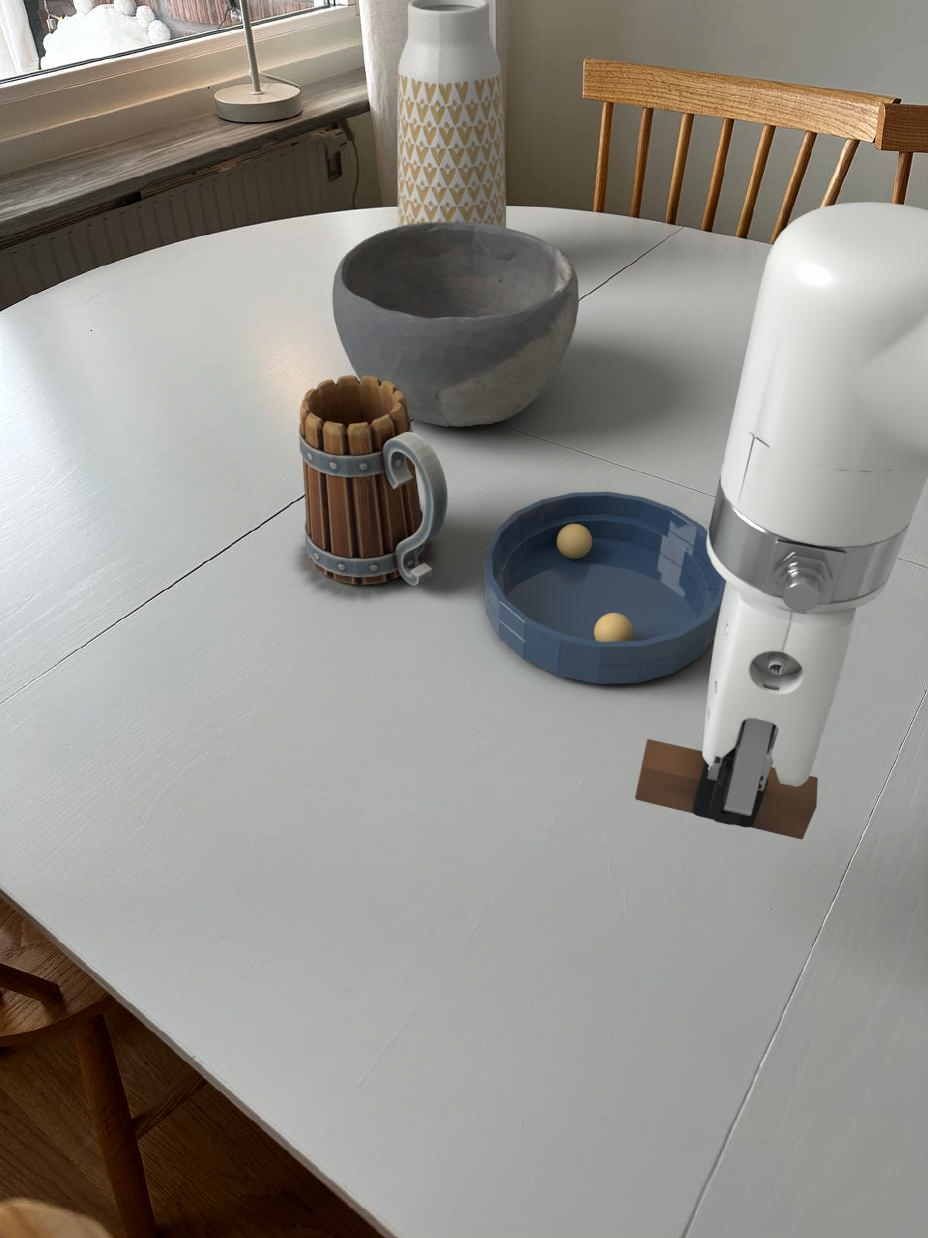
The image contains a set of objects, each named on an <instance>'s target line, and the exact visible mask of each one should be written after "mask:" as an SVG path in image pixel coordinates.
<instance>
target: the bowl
mask: <svg viewBox="0 0 928 1238" xmlns="http://www.w3.org/2000/svg"><path fill="white" fill-rule="evenodd" d="M336 268H337V269H336V271H335V272H334V273H335V274H334V277H333V284H332V312H333V319H334V324H335V327H336V330H337V333H338V336H339V339H340V343H341V346H342V347H343V349H344V352H345V354H346V356H347V358H348V361H349V363H350V366H351V367H352V369H353V371H354V372H355V375H356V377H357V379H358V380H359V382H360V381H361V379H362V377H363V376H374V377H377V378H378V379H379V380H380V381H381V383H382V382H383V381H390V382H391V383H393V384H395V385H396V387H397V389H398V390H399V391H400V392H402V394H403V396H404V398H405V399H406V403H407V411H408V415H409V417H410V419H411V420H414V421H417V422H422V423H426V424H431V425H436V426H442V427H446V428H447V427H450V426H451V427H457V428H458V427H466V426H467V427H472V426H476V425H477V426H478V425H494V424H495V423H498V422H504V421H506V420H507V419H509V418H512V417H515V416H516V415H517V414H519V413H520V412H522V411H524V409H525V408H526V407H528V406H529V405H530V404H531V403H533V401H535V399H537V398H538V397H539V396H540V394H541V393H542V391H544V389H545V388H546V386H547V385H548V383H549V382H550V381H551V379H552V377H553V376H554V374H555V372H556V371H557V369H558V368H559V366H560V364H561V363H562V360H563V358H564V356H565V355H566V352H567V350H568V348H569V346H570V344H571V341H572V338H573V335H574V332H575V328H576V325H577V320H578V319H577V318H578V314H579V307H580V306H579V304H580V297H579V296H580V295H579V278H578V275H577V273H576V269H575V266H574V265H573V263H572V261H571V260H570V258H569V256H568V255H567V254H566V253H565V252H564V251H562V249H560V248H559V247H557V246H555V245H553V244H551V243H549V242H548V241H546V240H543V239H542V238H539V237H538V236H535V235H532V234H531V233H530V234H529V233H526V232H523V231H520V230H516V229H513V228H508V227H506V228H505V227H500V226H496V225H492V224H485V223H469V222H424V223H415V224H409V225H403V226H400V227H399V226H396V227H393V228H391V229H387V230H383V231H380V232H378V233H376V234H374V235H372V236H370V237H367V238H365V239H364V240H362V241H361V242H359V243H358V244H356V245H355V246H354V247H353V248H352V249H350V251H348V252H347V253H346V254H345V255H344V256H343V257H342V259H341V260H340V262H339V264H338V265H337V267H336Z"/></svg>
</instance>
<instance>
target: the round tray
mask: <svg viewBox="0 0 928 1238" xmlns="http://www.w3.org/2000/svg"><path fill="white" fill-rule="evenodd" d="M570 524H579V525H582V526H584V527H585V528H586V529H587V530H588V531H589V532H590V534H591V537H592V546H591V549H590V550H589V552H588V553H587V554H586V555H585V556H583V557H581V558H578V559H570V558H567V557H565V556H564V555H563V554H562V553H561V552H560V551H559V549H558V546H557V537H558V534H559V532H560V531H561V530H562V529H563V528H564V527H565V526H567V525H570ZM707 535H708V529H706V528H705V526H704V525H702V524H700V523H698V522H697V521H696V520H695V519H692V518H691V517H689V516H688V515H686V514H685V513H683V512H681V511H680V510H679V509H677V508H674V507H671V506H668V505H666V504H663V503H661V502H658V501H655V500H653V499H649V498H646V497H644V496H638V495H632V494H626V493H620V492H614V491H582V492H581V491H580V492H579V491H578V492H576V491H575V492H570V493H564V494H560V495H556V496H552V497H546V498H543V499H539V500H538V501H535V502H534V503H533V502H532V504H529V505H527V506H525V507H523V508H521V509H519V510H517V511H515V512H513V513H512V514H511V515H510V516H509V517H508V518H507V519H506V520H505V521H503V523H501V524H500V525H499V526H498V527H497V528H496V529H495V530H494V532H493V534H492V536H491V539H490V541H489V542H488V545H487V546H486V550H485V552H484V577H483V578H484V580H483V581H484V584H483V585H484V586H483V587H484V588H483V591H484V605H485V615H486V616H487V618H488V620H489V622H490V624H491V626H492V627H493V629H494V631H495V633H496V636H497V637H498V639H500V641H502V642H503V643H504V644H505V645H506V646H507V647H509V648H510V649H511V650H512V651H513V652H514V653H515V654H516V655H518V656H519V657H520V658H521V659H523V660H524V661H526V662H528V663H530V664H532V665H534V666H537V667H538V668H540V669H543V670H546V671H547V672H549V673H551V674H554V675H556V676H558V677H563V678H567V679H572V680H577V681H581V682H586V683H592V684H596V685H597V684H599V685H606V684H607V685H608V684H609V685H610V684H611V685H612V684H639V683H642V682H647V681H650V680H654V679H657V678H661V677H666V676H668V675H672V674H675V673H676V672H678V671H679V670H681V669H683V668H684V667H686V666H687V665H689V664H691V663H692V662H693V661H695V660H697V659H698V658H700V657H702V655H703V654H704V652H706V650H707V649H708V647H709V646H710V645H711V644H712V642H713V640H715V634H716V629H717V624H718V618H719V614H720V609H721V604H722V599H723V594H724V590H725V585H726V580H725V579H724V578H723V577H722V576H721V575H720V574H719V573H718V572H717V570H716V569H715V567H714V566H713V564H712V562H711V560H710V558H709V556H708V552H707V545H706V541H707ZM609 613H619V614H622V615H624V616H625V617H627V618H628V619H629V621H630V622H631V624H632V626H633V631H634V634H633V639H632V641H614V642H601V641H596V639H595V635H594V629H595V625H596V623H597V622H598V620H599V619H600V618H601V617H602V616H604V615H606V614H609Z"/></svg>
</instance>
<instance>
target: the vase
mask: <svg viewBox="0 0 928 1238" xmlns="http://www.w3.org/2000/svg"><path fill="white" fill-rule="evenodd" d="M495 48H496V47H495V45H494V43H493V40H492V38H491V34H490V3H489V2H488V1H487V0H411V1H409V2H408V4H407V39H406V42H405V44H404V47H403V50H402V52H401V55H400V58H399V62H398V66H397V96H396V97H397V103H396V104H397V108H396V111H397V113H396V119H397V120H396V121H397V122H396V123H397V124H396V125H397V131H396V132H397V139H396V140H397V221H398V222H397V223H398V226H397V227H400V226H403V225H409V224H415V223H424V222H469V223H485V224H492V225H496V226H500V227H505V228H507V190H506V189H507V188H506V185H507V184H506V157H505V156H506V153H505V124H504V122H505V121H504V99H503V98H504V97H503V75H502V73H503V72H502V65H501V62H500V58H499V56H498V53H497V51H496V49H495Z"/></svg>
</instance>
